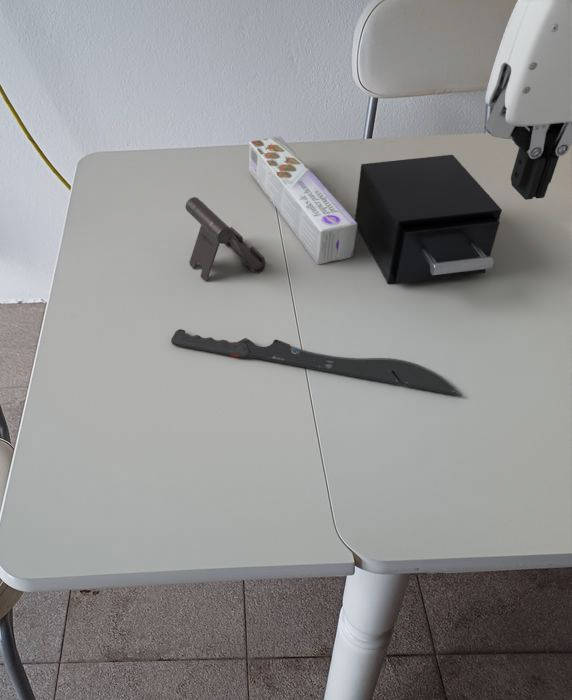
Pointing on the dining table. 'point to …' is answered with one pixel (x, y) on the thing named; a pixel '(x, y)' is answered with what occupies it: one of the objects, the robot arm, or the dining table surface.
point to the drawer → (445, 249)
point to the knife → (324, 362)
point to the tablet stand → (218, 240)
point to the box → (302, 200)
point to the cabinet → (414, 201)
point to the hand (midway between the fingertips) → (526, 191)
